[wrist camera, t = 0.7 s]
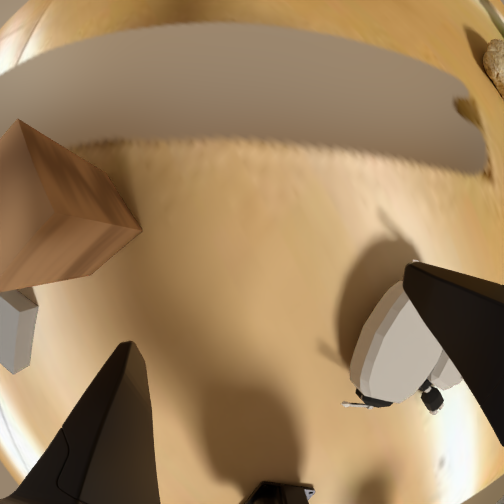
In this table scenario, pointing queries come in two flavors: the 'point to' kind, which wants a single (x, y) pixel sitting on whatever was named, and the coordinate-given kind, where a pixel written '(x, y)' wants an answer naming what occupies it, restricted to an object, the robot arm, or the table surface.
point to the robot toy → (399, 357)
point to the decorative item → (495, 63)
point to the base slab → (16, 330)
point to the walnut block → (55, 212)
